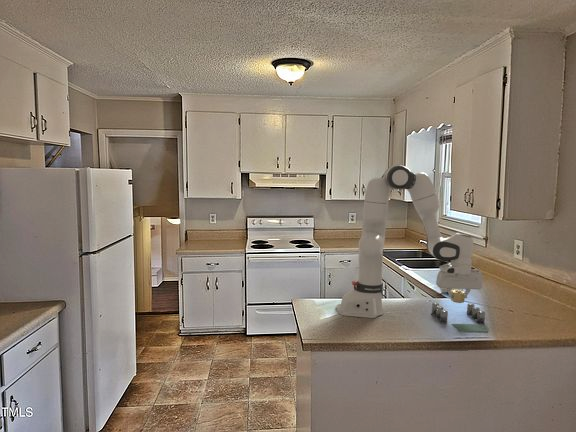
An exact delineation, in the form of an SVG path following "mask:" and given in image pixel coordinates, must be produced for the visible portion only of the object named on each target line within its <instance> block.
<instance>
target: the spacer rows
mask: <svg viewBox="0 0 576 432" xmlns="http://www.w3.org/2000/svg"><path fill="white" fill-rule="evenodd" d="M466 307H467V308H466V315H467V316H470V317H471V319H473V320H476V324H479V325H483V324H485V319H486V318H485V317H486V312H485V311H483V310H480V308H479V307H477V306H475V304H474V303H469V302H468V303H467V305H466ZM448 313H449V312H448V310H445V309H444V307H443V306H441V305H440V304H439V303H438V302H432V303H431V315H434V316H435V318H436V319H439V323H441V324H447V323H448Z"/></svg>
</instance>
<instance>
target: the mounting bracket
mask: <svg viewBox="0 0 576 432" xmlns="http://www.w3.org/2000/svg"><path fill="white" fill-rule="evenodd" d="M439 290H440V292H441V294H442V293H448V291H447V288H439ZM452 290H459V291H463V292H464V289H454V288H452ZM450 291H451V290H450ZM451 292H452V291H451Z"/></svg>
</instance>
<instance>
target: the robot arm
mask: <svg viewBox="0 0 576 432" xmlns="http://www.w3.org/2000/svg"><path fill="white" fill-rule="evenodd" d="M394 190H407V191H408V194H409V195H410V198H411V201H412V205H413V206H414V208H415V211H416V212H417V214H418V216H419V218H420V219H421V221H422V224H423V228H424V230H425V233H426V234H425V235H426V250H427V252H428V253H429V255H431V256H432V257H434V258H435V259H436V260H438V261H440V262H447V261H450V262H448V263H446V264H445V263H444V264H442V265H439V271H438V273H437V275H436V281H435V285H436V286H437V287H438V288H439V289H440V288H447V291H448V292H447V293H448V297H449V298H450V299H451V298H453V295H454V294H453V293H451V291H452V288H454V289H463V290H465V291H464V293H465V299H467V298H468V295H469V294H470V293H471V290H481V289H482V288H483V273H484V272H483V271H482V270H481V269H477V268H472V266H473V265H472V264H473V262H472V256H473V254H474V239H473V237H471V236H470V235H468V234H466V233H462V232H456V233H454V234H453V235H451V236H448V237H444V236H443V235H442V234H441V230H440V228H439V224H438V221H437V220H438V219H437V212H438V211H439V209H440V203H439V202H440V201H439V198H438V197H439V196H438V194H437V190H436V188H435V185H434V183H433V182H432V180H431V178H430V177H429V175H428V174H427V173H425V172H418V173H415V172H413V171H412V170H410V168H408V167H406V166H405V165H402V164H394V165H390V166H389V167H388V168H387V169H386V170H385V171H384V172H383V174H382V176H381V177H375V178H372V179H370V180H369V181H368V183H367V185H366V190H365V194H364V202H363V210H362V211H363V212H362V228H361V230H362V231H361V237H360V238H359V240H358V280H357V281H356V280H352V281H351V285H352V286H353V288H352V289H351V290H350V291H349V292H346V293H345V294H344V295H342V298H341V302H340V303H338V304H337V305H336V307H335V308H336V312H337V314H339V315H341V316H343V317H344V316H345V317H358V318H366V319H368V318H369V319H375V318H377V317H378V316H381V315H383V314H385V313H384V308H383V307H384V306H383V300H382V299H383V298H382V295H383V292H384V290H383V289H384V286H383V266H384V265H383V262H384V260H383V258H384V257H383V256H384V245H385V239H386V230H387V229H386V228H387V221H388V220H387V218H388V211H389V210H388V209H389V199H390V194H391V192H392V191H394ZM450 290H451V291H450Z"/></svg>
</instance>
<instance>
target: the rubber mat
mask: <svg viewBox="0 0 576 432" xmlns="http://www.w3.org/2000/svg"><path fill="white" fill-rule="evenodd" d="M451 326H453V327H454V328H455V329H456V330H457V331H458V332H459V333H489V332H488V330H487V329H486V328H484V327H483V326H482V325H481V324H480V323H451Z"/></svg>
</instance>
